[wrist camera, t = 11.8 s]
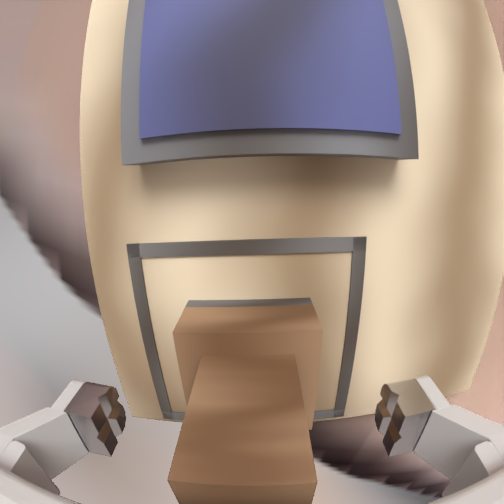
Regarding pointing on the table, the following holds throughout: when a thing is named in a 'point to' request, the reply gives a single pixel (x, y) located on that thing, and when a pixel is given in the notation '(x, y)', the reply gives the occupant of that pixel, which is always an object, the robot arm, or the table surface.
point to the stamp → (247, 401)
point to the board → (296, 182)
